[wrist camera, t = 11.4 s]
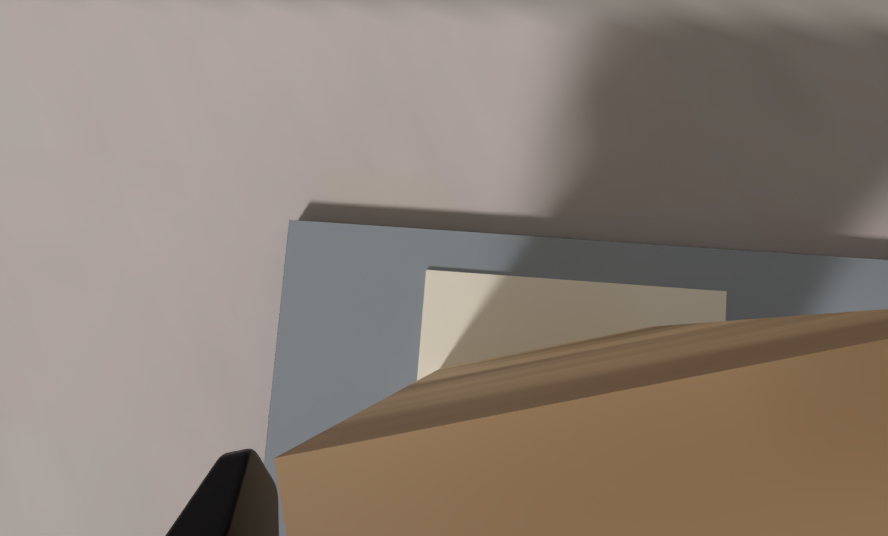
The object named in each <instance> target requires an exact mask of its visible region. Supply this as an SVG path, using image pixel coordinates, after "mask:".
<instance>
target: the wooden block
mask: <svg viewBox="0 0 888 536" xmlns="http://www.w3.org/2000/svg"><path fill="white" fill-rule="evenodd" d="M274 463H275V469H276V475H277V481H278V487H279V493H280V499H281V505H282V511H283V518H284V524H285V530H286V536H888V309H879V310H866V311H853V312H839V313H826V314H813V315H799V316H786V317H773V318H759V319H746V320H733V321H720V322H706V323H693V324H680V325H666V326H653V327H646V328H641V329H636V330H631V331H626V332H621V333H616V334H611V335H606V336H601V337H596V338H591V339H586V340H581V341H576V342H571V343H566V344H561V345H556V346H551V347H546V348H541V349H536V350H531V351H526V352H521V353H516V354H511V355H506V356H501V357H496V358H491V359H486V360H481V361H476V362H471V363H466V364H461V365H456V366H451V367H446V368H441V369H438V370H436V371H434V372H433V373H431V374H429V375H427V376H425V377H423V378H421V379H420V380H418V381H416V382H414V383H412V384H410V385H408V386H407V387H405V388H403V389H401V390H399V391H397V392H396V393H394V394H392V395H390V396H388V397H386V398H384V399H383V400H381V401H379V402H377V403H375V404H373V405H371V406H370V407H368V408H366V409H364V410H362V411H360V412H358V413H357V414H355V415H353V416H351V417H349V418H347V419H346V420H344V421H342V422H340V423H338V424H336V425H334V426H333V427H331V428H329V429H327V430H325V431H323V432H321V433H320V434H318V435H316V436H314V437H312V438H310V439H309V440H307V441H305V442H303V443H301V444H299V445H297V446H296V447H294V448H292V449H290V450H288V451H286V452H284V453H283V454H281V455H279V456H277V457H275V458H274Z"/></svg>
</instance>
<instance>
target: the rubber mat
mask: <svg viewBox="0 0 888 536" xmlns="http://www.w3.org/2000/svg"><path fill="white" fill-rule="evenodd" d="M879 309H888V260H882V259H867V258H852V257H837V256H822V255H807V254H792V253H777V252H762V251H748V250H733V249H718V248H703V247H688V246H673V245H658V244H643V243H628V242H613V241H598V240H583V239H568V238H553V237H538V236H523V235H508V234H493V233H478V232H463V231H448V230H433V229H418V228H403V227H388V226H373V225H358V224H343V223H329V222H314V221H299V220H289V226H288V236H287V246H286V255H285V265H284V275H283V284H282V294H281V304H280V314H279V323H278V333H277V343H276V353H275V362H274V372H273V382H272V391H271V401H270V411H269V421H268V430H267V440H266V450H265V459H264V465H265V467H266V469H267V470H268V472H269V474H270V475H271V477H272V478H273V480H274V482H275V484H276V487H277V492H278V503H279V536H286V530H285V524H284V518H283V511H282V505H281V499H280V493H279V487H278V481H277V475H276V469H275V463H274V458H275V457H277V456H279V455H281V454H283V453H284V452H286V451H288V450H290V449H292V448H294V447H296V446H297V445H299V444H301V443H303V442H305V441H307V440H309V439H310V438H312V437H314V436H316V435H318V434H320V433H321V432H323V431H325V430H327V429H329V428H331V427H333V426H334V425H336V424H338V423H340V422H342V421H344V420H346V419H347V418H349V417H351V416H353V415H355V414H357V413H358V412H360V411H362V410H364V409H366V408H368V407H370V406H371V405H373V404H375V403H377V402H379V401H381V400H383V399H384V398H386V397H388V396H390V395H392V394H394V393H396V392H397V391H399V390H401V389H403V388H405V387H407V386H408V385H410V384H412V383H414V382H416V381H418V380H420V379H421V378H423V377H425V376H427V375H429V374H431V373H433V372H434V371H436V370H438V369H441V368H446V367H451V366H456V365H461V364H466V363H471V362H476V361H481V360H486V359H491V358H496V357H501V356H506V355H511V354H516V353H521V352H526V351H531V350H536V349H541V348H546V347H551V346H556V345H561V344H566V343H571V342H576V341H581V340H586V339H591V338H596V337H601V336H606V335H611V334H616V333H621V332H626V331H631V330H636V329H641V328H646V327H653V326H666V325H680V324H693V323H706V322H720V321H733V320H746V319H759V318H773V317H786V316H799V315H813V314H826V313H839V312H853V311H866V310H879Z"/></svg>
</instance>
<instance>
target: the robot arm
mask: <svg viewBox="0 0 888 536" xmlns="http://www.w3.org/2000/svg"><path fill="white" fill-rule="evenodd" d="M166 536H279V503H278V492H277V487H276V484H275V482H274V480H273V478H272V477H271V475H270V474H269V472H268V470H267V469H266V467H265V465H264V464H263V462H262V460H261V459H260V457H259V456H258V454H257V453H256V452H255V451H254V450H252V449H244V450H239V451H233V452H228V453H225V454H223V455H222V456H221V457H220V458H219V459H218V460H217V461H216V463H215V464H214V466H213V467H212V469H211V470H210V471H209V473H208V474H207V476H206V477H205V479H204V480H203V482H202V483H201V485H200V486H199V488H198V489H197V490H196V492H195V493H194V495H193V496H192V498H191V499H190V501H189V502H188V504H187V505H186V507H185V508H184V509H183V511H182V512H181V514H180V515H179V517H178V518H177V520H176V521H175V523H174V524H173V526H172V527H171V529H170V530H169V531H168V533H167V534H166Z"/></svg>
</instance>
